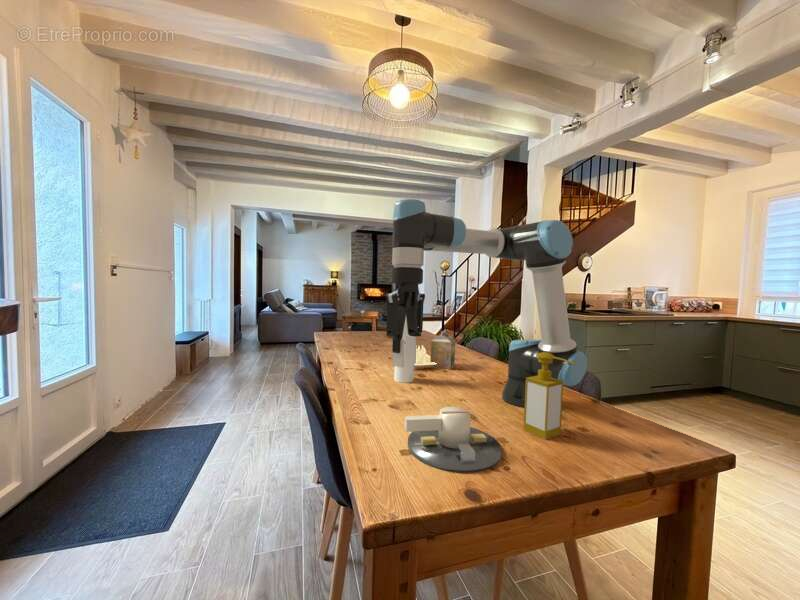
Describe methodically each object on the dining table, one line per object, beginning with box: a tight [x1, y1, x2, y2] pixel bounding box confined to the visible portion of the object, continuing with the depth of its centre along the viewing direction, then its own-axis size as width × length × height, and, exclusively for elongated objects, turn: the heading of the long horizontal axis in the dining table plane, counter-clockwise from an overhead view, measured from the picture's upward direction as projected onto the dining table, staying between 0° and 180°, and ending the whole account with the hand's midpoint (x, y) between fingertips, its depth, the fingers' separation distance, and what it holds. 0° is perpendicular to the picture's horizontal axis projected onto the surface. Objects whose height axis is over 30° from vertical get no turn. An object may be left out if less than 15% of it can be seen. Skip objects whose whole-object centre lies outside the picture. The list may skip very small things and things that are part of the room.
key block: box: [404, 406, 487, 449], centre depth 85 cm, size 22×8×8 cm, turn 100°
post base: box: [407, 426, 503, 473], centre depth 85 cm, size 24×24×4 cm
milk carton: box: [429, 329, 456, 371], centre depth 172 cm, size 11×11×19 cm
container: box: [393, 318, 415, 384], centre depth 145 cm, size 9×9×30 cm
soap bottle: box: [522, 352, 576, 441], centre depth 93 cm, size 7×13×24 cm, turn 32°
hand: (404, 364), depth 79 cm, fingers open, 4 cm apart
